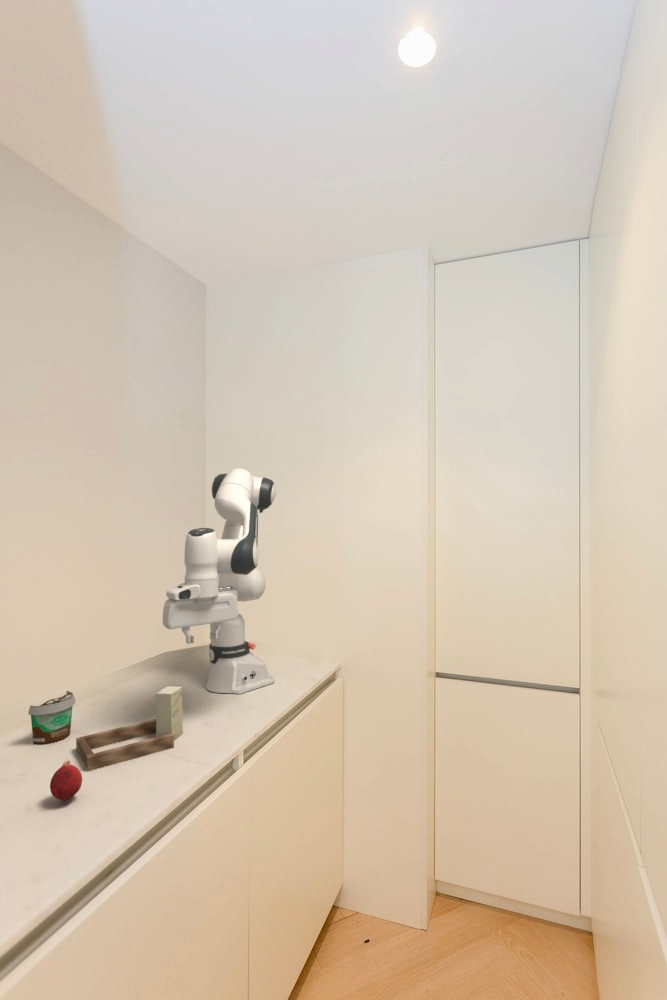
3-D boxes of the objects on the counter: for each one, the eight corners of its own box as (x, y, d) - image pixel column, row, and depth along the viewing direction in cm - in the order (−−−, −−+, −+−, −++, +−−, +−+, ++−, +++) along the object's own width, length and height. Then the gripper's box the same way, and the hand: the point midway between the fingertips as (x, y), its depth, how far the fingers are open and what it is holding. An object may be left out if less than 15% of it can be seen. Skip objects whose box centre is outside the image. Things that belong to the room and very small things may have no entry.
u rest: (156, 730, 142) (156, 718, 142) (173, 747, 131) (173, 735, 131) (76, 750, 130) (76, 738, 130) (88, 771, 120) (88, 757, 120)
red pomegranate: (79, 806, 106) (79, 765, 106) (47, 811, 104) (47, 770, 104) (84, 791, 111) (84, 752, 111) (53, 796, 110) (53, 756, 110)
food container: (46, 750, 130) (46, 709, 131) (28, 746, 133) (28, 706, 133) (86, 730, 142) (86, 692, 142) (68, 727, 144) (68, 690, 144)
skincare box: (171, 743, 134) (171, 694, 134) (155, 741, 135) (155, 693, 135) (183, 732, 140) (183, 686, 140) (167, 731, 141) (167, 685, 141)
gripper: (232, 584, 152) (232, 633, 152) (160, 591, 140) (160, 644, 140) (242, 586, 147) (242, 637, 147) (168, 594, 135) (168, 649, 134)
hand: (202, 641), depth 143 cm, fingers open, 5 cm apart
